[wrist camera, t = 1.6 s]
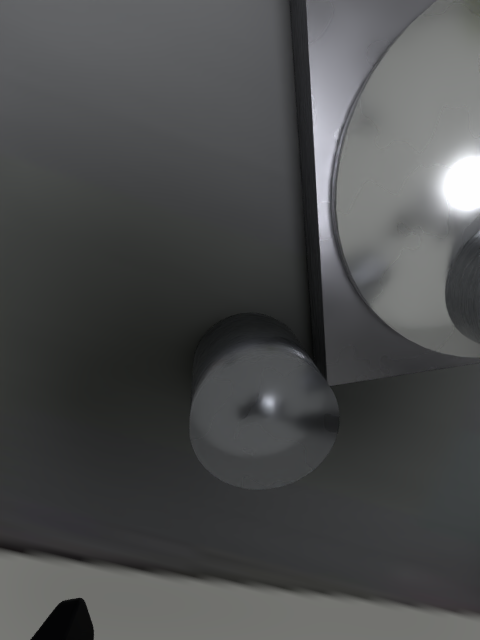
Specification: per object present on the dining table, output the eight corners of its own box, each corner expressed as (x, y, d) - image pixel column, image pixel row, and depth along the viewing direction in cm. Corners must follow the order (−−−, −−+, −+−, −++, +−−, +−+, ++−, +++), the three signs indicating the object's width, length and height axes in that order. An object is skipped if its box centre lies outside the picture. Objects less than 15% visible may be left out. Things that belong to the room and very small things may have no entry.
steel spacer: (306, 405, 18) (342, 476, 13) (202, 421, 18) (201, 500, 13) (298, 305, 17) (335, 345, 12) (184, 321, 16) (177, 369, 12)
